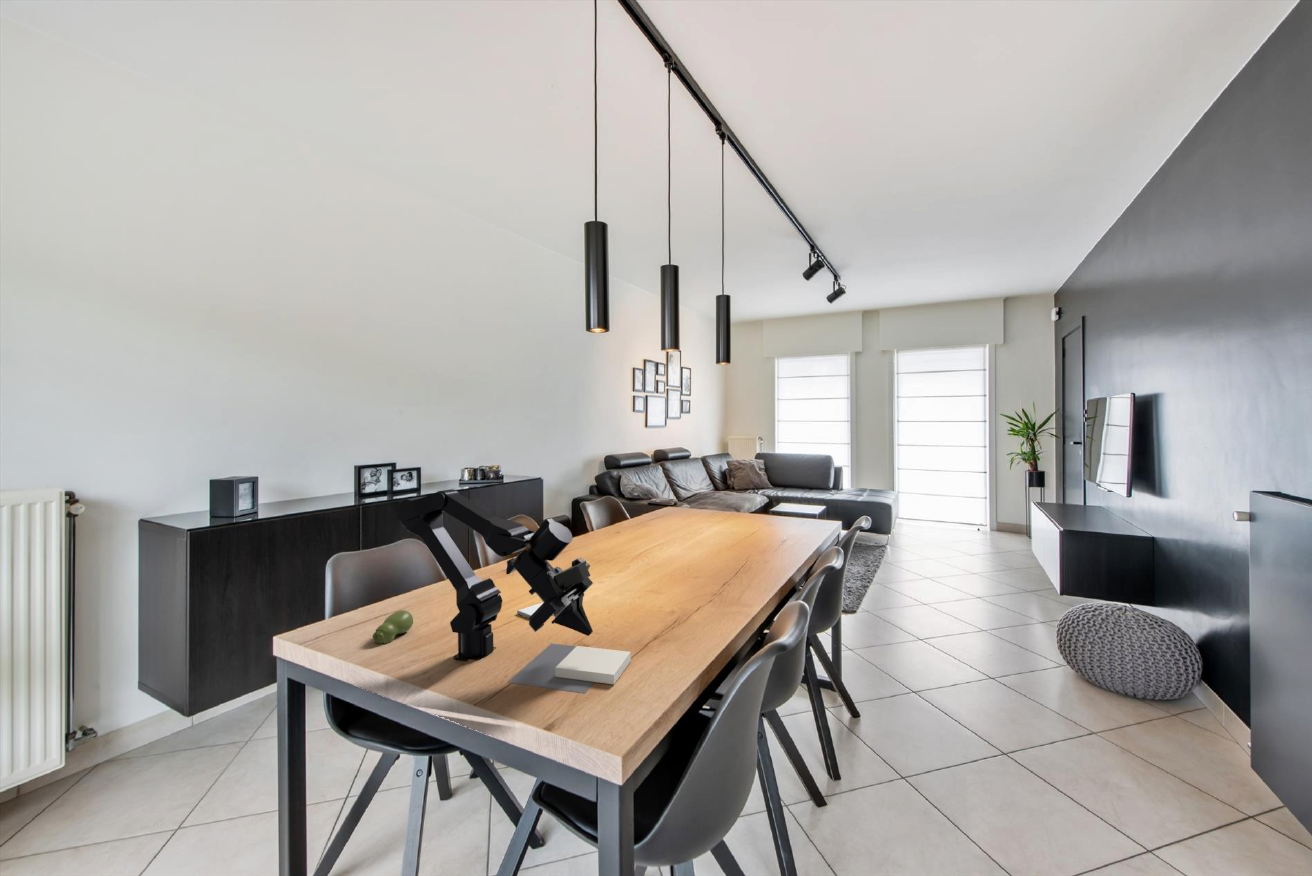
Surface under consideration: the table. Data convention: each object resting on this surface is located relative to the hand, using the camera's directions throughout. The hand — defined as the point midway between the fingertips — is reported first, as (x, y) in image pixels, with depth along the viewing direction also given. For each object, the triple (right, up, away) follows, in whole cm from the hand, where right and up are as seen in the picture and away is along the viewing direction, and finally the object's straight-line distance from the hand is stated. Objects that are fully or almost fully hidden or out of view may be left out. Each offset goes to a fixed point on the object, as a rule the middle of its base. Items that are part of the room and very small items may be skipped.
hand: (590, 633), depth 99 cm
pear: (-49, -8, +19) cm, 53 cm away
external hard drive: (-17, -8, +35) cm, 39 cm away
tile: (-5, -6, +1) cm, 8 cm away
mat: (-5, -8, +1) cm, 9 cm away
